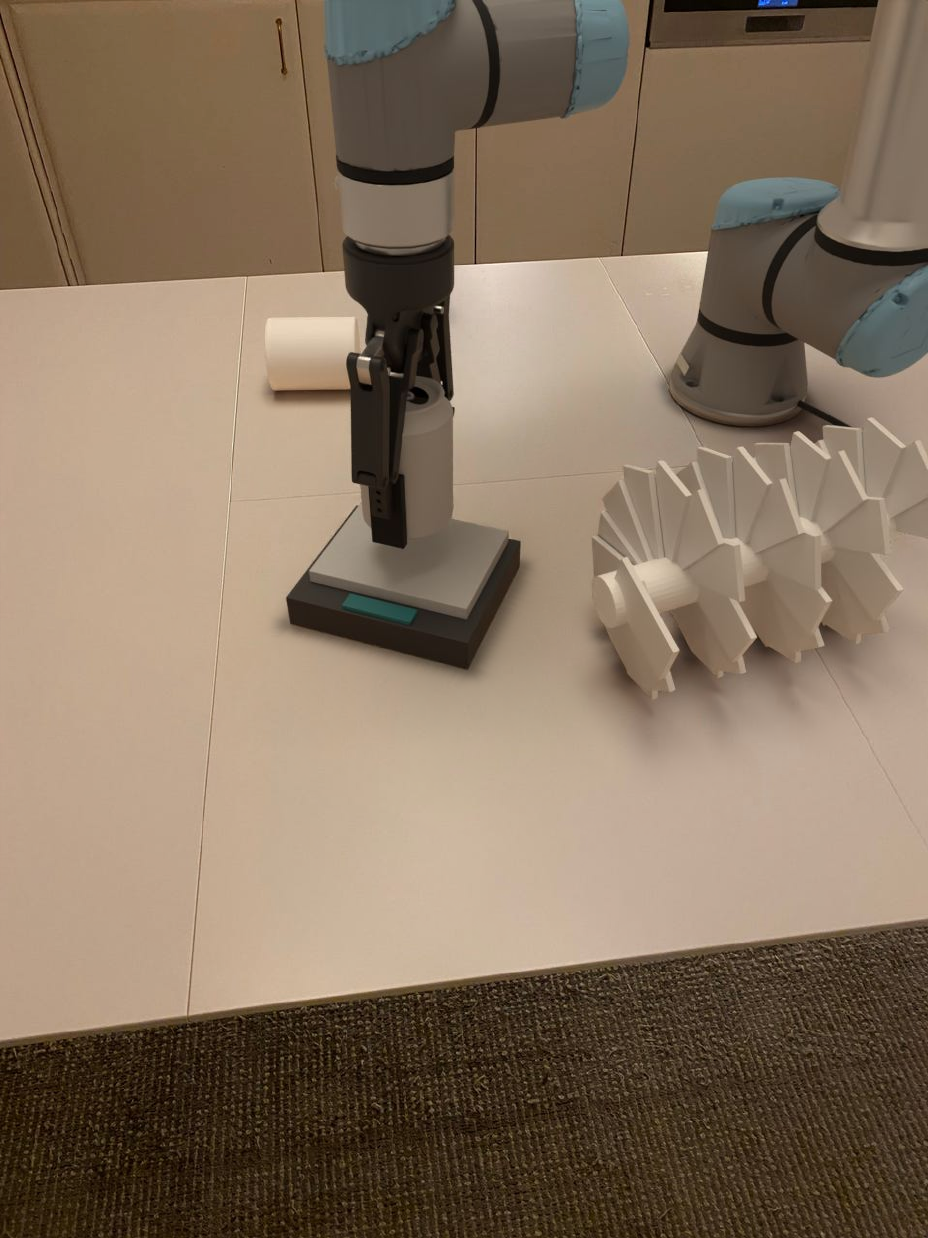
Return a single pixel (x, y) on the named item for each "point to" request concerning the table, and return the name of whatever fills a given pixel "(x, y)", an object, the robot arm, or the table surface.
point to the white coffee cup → (309, 352)
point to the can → (425, 462)
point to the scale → (408, 589)
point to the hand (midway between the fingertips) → (409, 514)
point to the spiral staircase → (756, 548)
